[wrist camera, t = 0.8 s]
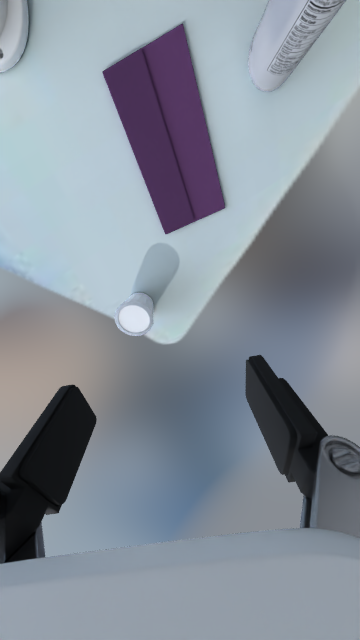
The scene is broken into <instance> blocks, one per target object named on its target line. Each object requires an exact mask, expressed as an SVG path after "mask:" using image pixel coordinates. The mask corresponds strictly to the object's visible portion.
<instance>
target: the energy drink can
mask: <svg viewBox="0 0 360 640" xmlns="http://www.w3.org/2000/svg"><path fill="white" fill-rule="evenodd" d="M345 1H346V0H269V1H268V4H267V6H266V9H265V11H264V13H263V16H262V18H261V20H260V23H259V25H258V27H257V30H256V32H255V35H254V37H253V40H252V43H251V46H250V50H249V58H248V67H249V73H250V76H251V79H252V82H253V83H254V85H255V86H256V87H257V88H258V89H260V90H262V91H265V92H270V91H273V90H275V89H277V88H279V87H280V86H281V85H282V84H283V83H284V82H285V81H286V79H287V78H288V77H289V75H290V74H291V73H292V71H293V70H294V69H295V67H296V66H297V65H298V64H299V62H300V61H301V60H302V58H303V57H304V56H305V54H306V53H307V52H308V50H309V49H310V48H311V46H312V45H313V44H314V42H315V41H316V40H317V38H318V37H319V36H320V34H321V33H322V32H323V30H324V29H325V28H326V26H327V25H328V24H329V23H330V21H331V20H332V19H333V17H334V16H335V15H336V13H337V12H338V11H339V9H340V8H341V7H342V5H343V4H344V3H345Z"/></svg>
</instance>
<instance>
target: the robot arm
mask: <svg viewBox="0 0 360 640" xmlns="http://www.w3.org/2000/svg"><path fill="white" fill-rule="evenodd" d="M28 27H29V18H28V5H27V0H0V73H1V72H5V71H7V70H9V69H10V68H12V67H13V66H14V65H15V64H16V63H17V62H18V61H19V60H20V58H21V56H22V54H23V52H24V49H25V46H26V42H27V38H28ZM246 398H247V401H248V403H249V406H250V408H251V410H252V412H253V414H254V417H255V419H256V421H257V423H258V426H259V428H260V430H261V432H262V434H263V436H264V439H265V441H266V443H267V446H268V448H269V450H270V452H271V455H272V457H273V459H274V461H275V463H276V466H277V468H278V470H279V472H280V473H281V474H282V475H283V474H285V476H286V478H287V480H288V482H295V481H296V483H297V485H298V487H299V489H300V491H301V493H303V494H304V496H303V504H302V512H301V520H300V528H292V529H276V530H265V531H255V532H245V533H235V534H227V535H219V536H210V537H202V538H194V539H186V540H177V541H169V542H161V543H153V544H146V545H137V546H129V547H121V548H113V549H105V550H97V551H90V552H83V553H74V554H67V555H60V556H52V557H45V549H44V541H43V531H42V523H41V521H42V519H43V517H44V514H46V515H49V514H56V513H59V510H60V508H61V505H62V504H63V503H64V502H65V501H66V499H67V496H68V494H69V491H70V488H71V486H72V484H73V481H74V478H75V476H76V473H77V471H78V468H79V466H80V463H81V460H82V458H83V455H84V453H85V450H86V447H87V445H88V442H89V440H90V437H91V435H92V432H93V429H94V427H95V424H96V416H95V414H94V413H93V411H92V409H91V408H90V406H89V404H88V403H87V401H86V399H85V398H84V396H83V394H82V393H81V391H80V390H79V388H78V387H76V386H75V385H68V386H62V387H61V388H60V389H59V390H58V391H57V393H56V394H55V396H54V397H53V399H52V400H51V401H50V403H49V404H48V406H47V407H46V409H45V410H44V411H43V413H42V414H41V416H40V417H39V419H38V420H37V421H36V423H35V424H34V425H33V427H32V428H31V430H30V431H29V433H28V434H27V435H26V437H25V438H24V440H23V441H22V443H21V444H20V445H19V447H18V448H17V450H16V451H15V452H14V454H13V455H12V457H11V458H10V460H9V461H8V462H7V464H6V465H5V467H4V468H3V470H2V471H1V472H0V640H360V447H359V446H358V445H356V444H355V443H353V442H351V441H350V440H348V439H345V438H343V437H339V436H328V434H327V433H326V432H325V431H324V429H323V428H322V427H321V425H320V424H319V423H318V422H317V420H316V419H315V418H314V416H313V415H312V414H311V412H310V411H309V410H308V408H307V407H306V406H305V405H304V403H303V402H302V401H301V399H300V398H299V397H298V395H297V394H296V393H295V392H294V390H293V389H292V388H291V386H290V385H289V384H288V383H287V381H286V380H284V379H283V378H278V377H277V376H276V375H275V373H274V372H273V371H272V369H271V368H270V366H269V365H268V364H267V362H266V361H265V360H264V358H263V357H262V356H261V355H257V356H251V357H249V360H246Z"/></svg>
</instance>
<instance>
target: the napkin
mask: <svg viewBox="0 0 360 640" xmlns="http://www.w3.org/2000/svg"><path fill="white" fill-rule="evenodd" d="M103 75H104V78H105V80H106V83H107V85H108V88H109V91H110V93H111V96H112V98H113V101H114V103H115V106H116V109H117V111H118V114H119V116H120V119H121V121H122V124H123V127H124V129H125V132H126V134H127V137H128V139H129V142H130V144H131V147H132V150H133V152H134V155H135V157H136V160H137V162H138V165H139V168H140V170H141V173H142V175H143V178H144V180H145V183H146V186H147V188H148V191H149V193H150V196H151V198H152V201H153V204H154V206H155V209H156V211H157V214H158V216H159V219H160V222H161V224H162V227H163V229H164V232H165V234H168V233H170V232H172V231H175V230H177V229H179V228H181V227H184V226H186V225H188V224H190V223H193V222H195V221H197V220H199V219H202V218H204V217H206V216H208V215H211V214H213V213H215V212H217V211H219V210H222V209H224V208H225V204H224V200H223V196H222V191H221V187H220V183H219V179H218V174H217V170H216V166H215V161H214V157H213V153H212V148H211V144H210V140H209V135H208V131H207V127H206V122H205V118H204V114H203V109H202V105H201V101H200V96H199V92H198V88H197V83H196V79H195V75H194V70H193V66H192V62H191V57H190V53H189V49H188V44H187V40H186V36H185V31H184V27H183V24H181V25H179V26H178V27H176V28H174V29H173V30H171V31H169V32H168V33H166V34H164V35H163V36H161V37H159V38H158V39H156V40H155V41H153V42H151V43H150V44H148V45H146V46H145V47H143V48H141V49H139V50H137V51H136V52H134V53H132V54H131V55H129V56H127V57H126V58H124V59H123V60H121V61H119V62H118V63H116V64H114V65H113V66H111V67H109V68H108V69H106V70H104V71H103Z"/></svg>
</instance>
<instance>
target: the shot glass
mask: <svg viewBox="0 0 360 640" xmlns="http://www.w3.org/2000/svg"><path fill="white" fill-rule="evenodd" d="M114 317H115V323H116V325H117V326H118V328H119V329H120V330H121V331H123V332H124V333H126V334H129V335H131V336H140V335H143V334H146V333H147V332H148V331H149V330H150V329H151V327H152V325H153V301H152V299H151V298H150V297H149V296H148V295H147V294H144V293H139V292H137V293H134V294H132V295H131V296H130V297H129V298H128V299H127V300H125V301H124V302H123V303H122V304H121V305H120V306H119V307H118V308H117V309H116V312H115V315H114Z"/></svg>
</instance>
